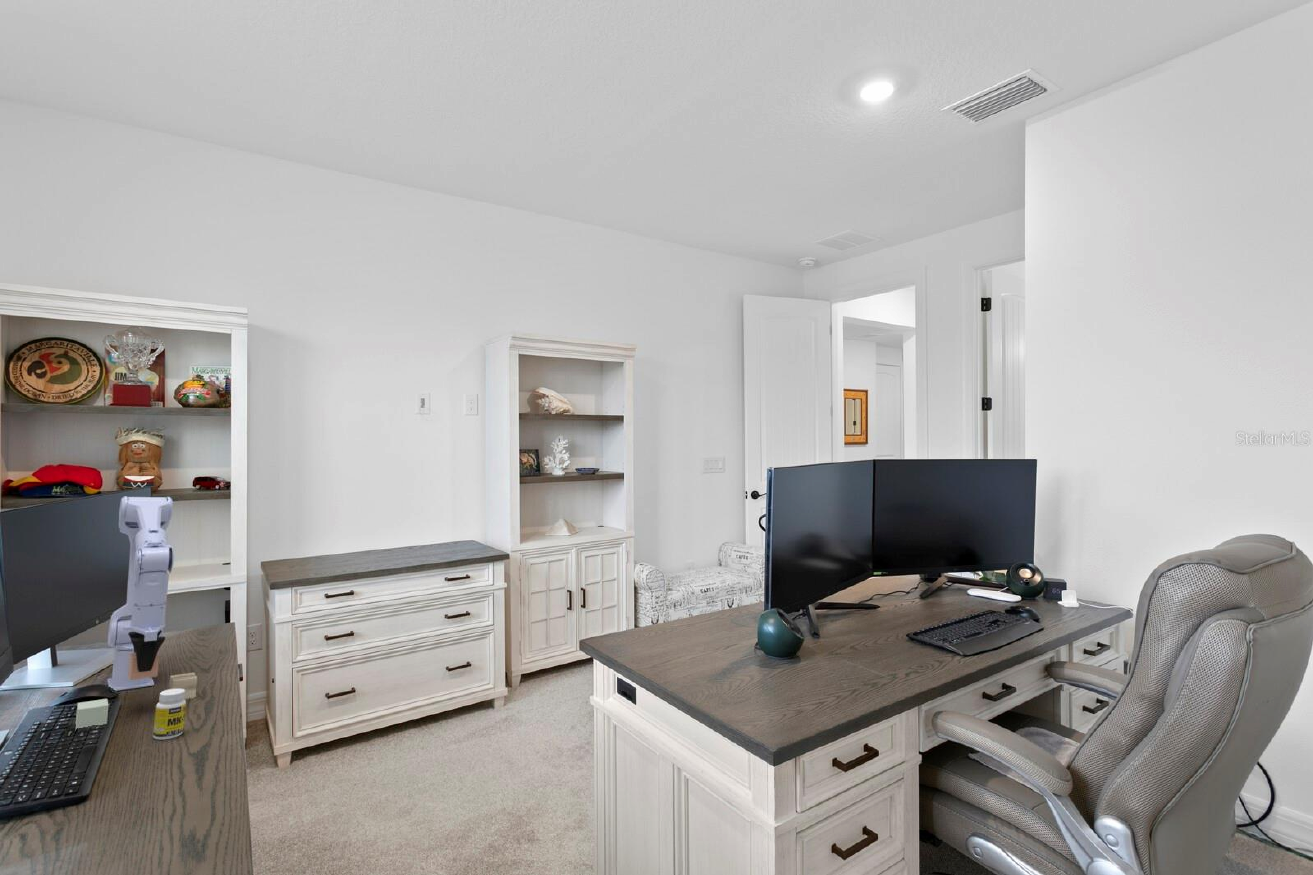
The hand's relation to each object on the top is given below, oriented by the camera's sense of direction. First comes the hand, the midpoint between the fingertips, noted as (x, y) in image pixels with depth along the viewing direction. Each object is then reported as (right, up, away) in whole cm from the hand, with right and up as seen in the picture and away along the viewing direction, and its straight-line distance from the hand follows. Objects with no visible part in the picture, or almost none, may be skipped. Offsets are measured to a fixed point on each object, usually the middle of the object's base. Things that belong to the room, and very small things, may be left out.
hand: (143, 668), depth 139 cm
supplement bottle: (+14, -9, -12) cm, 20 cm away
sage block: (-3, -8, -10) cm, 13 cm away
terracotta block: (0, -2, 0) cm, 2 cm away
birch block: (+2, -10, +9) cm, 13 cm away
